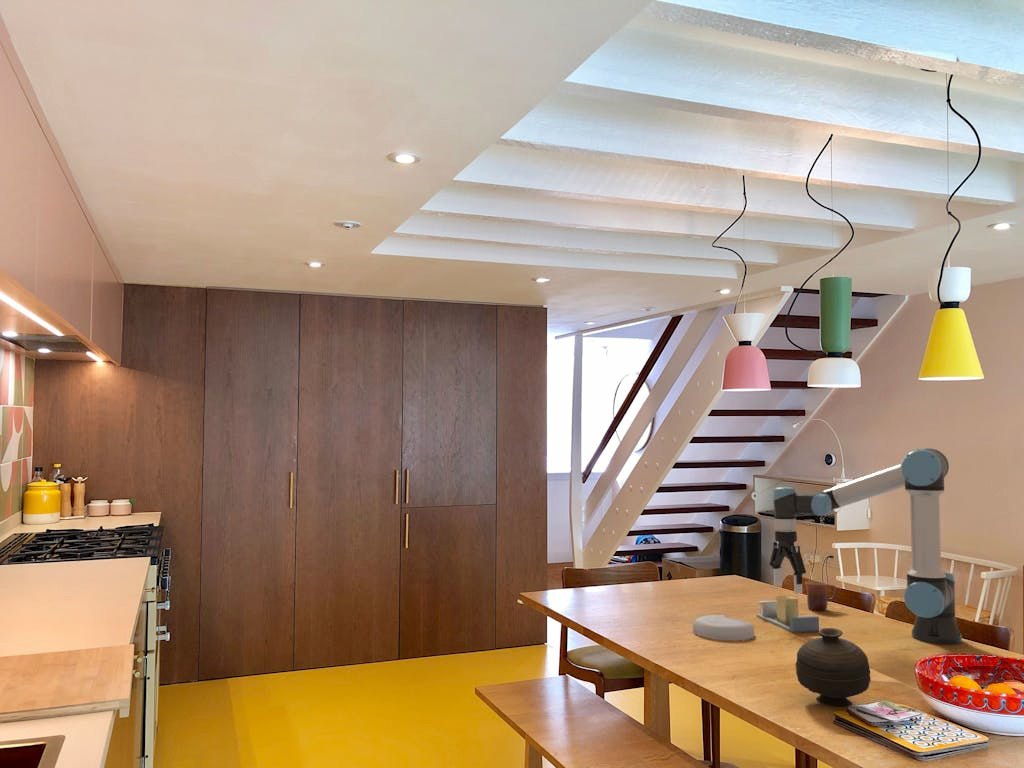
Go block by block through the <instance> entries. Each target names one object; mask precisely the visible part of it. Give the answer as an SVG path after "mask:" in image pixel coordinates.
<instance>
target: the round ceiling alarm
mask: <svg viewBox="0 0 1024 768" xmlns="http://www.w3.org/2000/svg"><path fill="white" fill-rule="evenodd" d="M692 632H693V633H694V634H695V635H696V634H697V635H696V636H699V637H701V636H702V638H705V637H706V639H710V638H711V639H710V640H716V639H717V640H718V641H725V640H734V641H733V642H737V641H736V640H742V641H748V640H747V639H749V640H751V639H750V638H752V639H754V637H755V628H754V625H753V624H752V623H750V622H749V621H746V620H744V619H740V618H732V617H727V615H725V614H723V615H722V614H709V615H703V616H699V617H697V618H695V620H694V621H693V623H692Z"/></svg>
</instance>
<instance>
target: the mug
mask: <svg viewBox="0 0 1024 768" xmlns="http://www.w3.org/2000/svg"><path fill="white" fill-rule="evenodd" d="M804 583H805V586H806V593H807V595H806V596H807V597H806V603H807V604H806V605H807V607H808V609H809V610H810V609H812V610H811V611H814V610H818V611H817V612H823V610H824V611H826V610H827V609H828V603H829V602H831V601H832V602H833V601H834V600H835V598H837V596H838V595H837V594H838V588H837V587H836V585H833V584H829V583H828V582H826V581H821V580H820V581H817V580H808V581H805V582H804ZM830 588H833V589H834V590H833V591H834V593H833V596H831V597H828V590H829V589H830Z"/></svg>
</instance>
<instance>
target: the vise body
mask: <svg viewBox="0 0 1024 768" xmlns="http://www.w3.org/2000/svg"><path fill="white" fill-rule="evenodd" d="M756 618H759V619H761V620H763V621H766V622H768V623H770V624H773V625H774V626H777V627H779V628H781V629H784V630H786V631H788V632H790V633H818V632H819V631H820V617H819V616H817V615H803V616H799V615H798V617H790V625H784V624H782V623H780V622H778V621H777V616H763V615H761V613H756Z"/></svg>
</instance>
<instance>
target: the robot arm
mask: <svg viewBox="0 0 1024 768" xmlns="http://www.w3.org/2000/svg"><path fill="white" fill-rule="evenodd" d="M949 468H950V465H949V461H948V458H947V457H946V456H945V455H944V453H943V452H941V451H939V450H938V449H935V448H918V449H917V448H916V449H914V450H912V451H910V452H909V453H907V454H906V455H905V456H904V457H903V459H902V461H901V463H899V464H897V465H894V466H892V467H891V466H890V467H889V468H886V469H883V470H879V471H876V472H874V473H871V474H868V475H865V476H863V477H860V478H856V479H854V480H850V481H848V482H846V483H845V482H844V483H842V484H839V485H836V486H833V487H830V488H827V489H824V490H821V491H819V492H813V493H798V492H796V489H795V487H789V486H788V487H786V486H780V487H775V488H774V490H773V500H772V501H773V510H774V511H773V512H774V520H773V521H774V529H775V531H774V539H775V541H773V542H772V543H773V544H772V545H773V546H772V547H773V548H772V551H771V556H770V559H769V566H770V567H771V568H772V569H773V587H774V588H782V587H783V581H782V580H783V579H782V578H783V577H782V564H783V561H784V560H785V558H787V560H788V561H789V562H790V563H789V564H790V565H791V568H792V569H793V572H794V573H793V585H794V586H793V587H794V588H793V591H794V592H793V593H794V594H796V595H797V594H803V575H804V574H806V573H807V571H806V567H805V563H804V561H803V558H802V553H801V547H800V545H795V544H794V543H795V542H797V541H798V532H797V531H796V530H797V515H807V516H809V515H810V516H818V517H820V516H829V515H830V513H831V512H832V511H834V510H836V509H840V508H842V507H845V506H848V505H851V504H854V503H857V502H861V501H863V500H867V499H870V498H873V497H876V496H879V495H881V494H887V493H889V492H892V491H895V490H898V489H900V488H904V489H905V492H907V493H908V494H909V496H910V497H909V500H910V501H909V502H910V503H909V504H910V507H909V508H910V540H911V541H910V542H911V543H910V547H911V551H910V552H911V568H910V569H909V570H908V571H907V572H906V588H905V590H904V594H903V598H904V599H903V600H904V602H905V606H906V607H907V609H908V610H909V611H910V612H912V614H914V615H916V617H915V620H914V623H913V628H912V630H911V638H913V639H914V640H917V641H919V640H920V641H919V642H923V641H924V643H927V642H929V643H928V644H933V643H934V644H935V645H943V646H945V645H946V646H954V645H955V646H957V645H961V644H962V642H963V636H962V633H961V630H960V626H959V625H958V622H957V619H956V593H955V592H956V591H955V590H956V589H955V585H956V581H955V576H954V574H953V573H951V572H946V571H945V572H944V571H943V570H942V561H941V560H942V557H941V555H942V553H941V550H942V549H941V513H940V511H941V510H940V496H941V495H942V494H943V493H944V492H945V478H946V476H947V474H948V472H949Z"/></svg>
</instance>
